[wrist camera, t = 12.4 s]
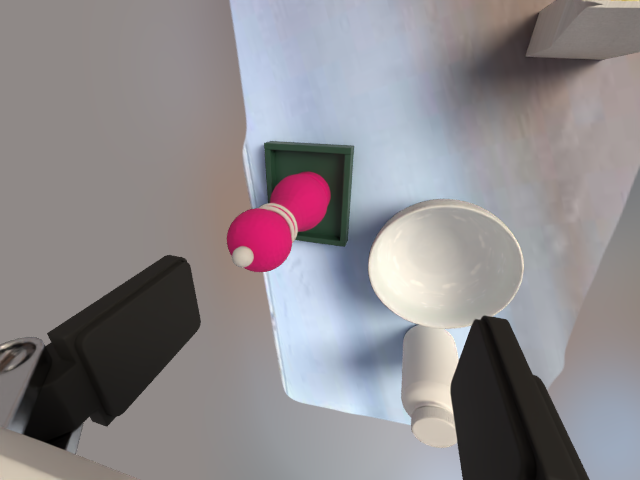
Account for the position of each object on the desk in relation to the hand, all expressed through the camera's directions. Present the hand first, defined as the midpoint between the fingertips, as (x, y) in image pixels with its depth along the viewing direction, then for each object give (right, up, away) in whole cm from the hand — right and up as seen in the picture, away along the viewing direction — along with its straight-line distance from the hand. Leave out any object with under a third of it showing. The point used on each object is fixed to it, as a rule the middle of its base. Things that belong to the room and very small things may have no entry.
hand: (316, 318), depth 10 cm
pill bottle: (+18, -14, +38) cm, 44 cm away
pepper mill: (-1, +9, +32) cm, 33 cm away
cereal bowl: (+16, +2, +31) cm, 35 cm away
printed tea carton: (+24, +22, +18) cm, 38 cm away
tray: (-1, +9, +32) cm, 33 cm away
